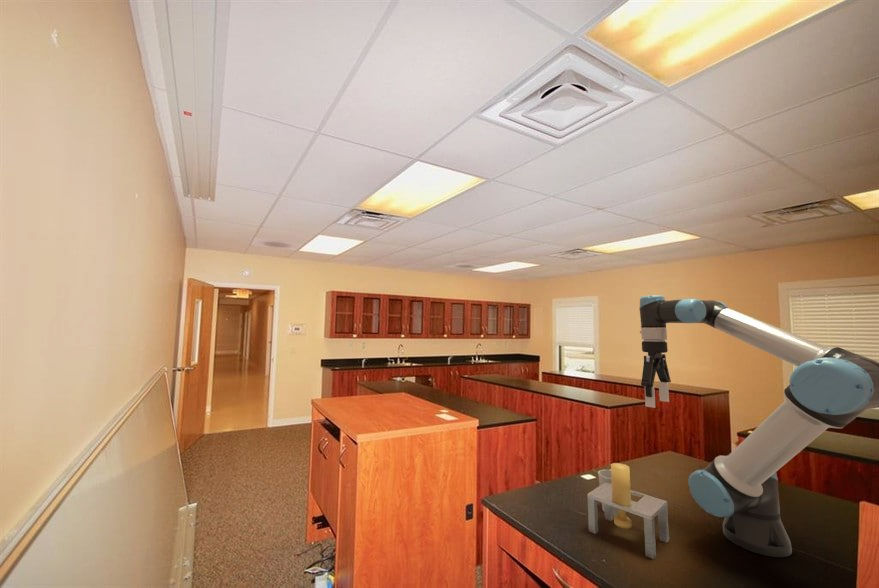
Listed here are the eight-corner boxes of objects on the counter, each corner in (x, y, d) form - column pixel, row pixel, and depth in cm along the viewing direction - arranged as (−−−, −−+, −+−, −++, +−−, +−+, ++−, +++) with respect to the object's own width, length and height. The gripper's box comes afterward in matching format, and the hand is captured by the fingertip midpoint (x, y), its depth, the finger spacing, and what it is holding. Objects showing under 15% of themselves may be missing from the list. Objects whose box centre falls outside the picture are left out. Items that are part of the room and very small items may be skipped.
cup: (598, 513, 121) (597, 476, 122) (600, 503, 128) (598, 468, 129) (625, 519, 117) (623, 480, 118) (625, 508, 124) (623, 472, 125)
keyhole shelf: (669, 540, 105) (666, 501, 106) (653, 559, 97) (651, 516, 98) (607, 516, 119) (605, 481, 120) (588, 531, 110) (587, 493, 111)
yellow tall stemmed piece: (635, 524, 106) (632, 466, 107) (628, 531, 102) (625, 470, 104) (617, 517, 109) (615, 461, 111) (610, 523, 106) (608, 465, 108)
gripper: (654, 339, 134) (657, 397, 132) (627, 341, 117) (631, 407, 115) (677, 340, 128) (681, 400, 126) (653, 342, 112) (657, 411, 110)
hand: (657, 404), depth 121 cm, fingers open, 13 cm apart
